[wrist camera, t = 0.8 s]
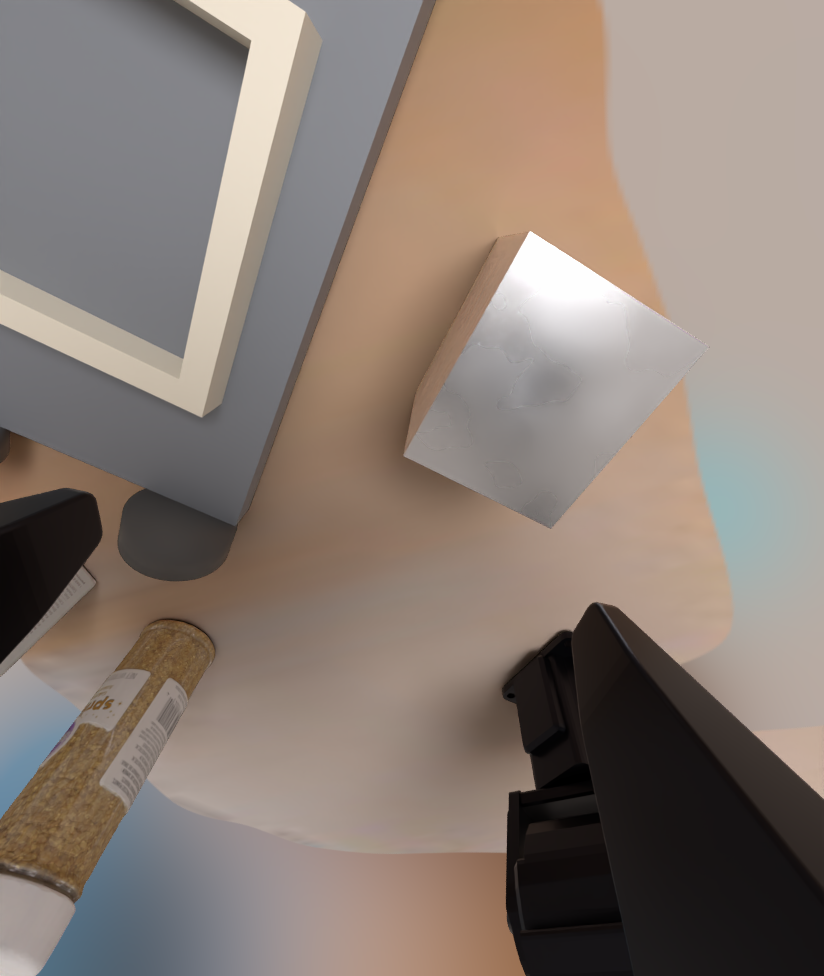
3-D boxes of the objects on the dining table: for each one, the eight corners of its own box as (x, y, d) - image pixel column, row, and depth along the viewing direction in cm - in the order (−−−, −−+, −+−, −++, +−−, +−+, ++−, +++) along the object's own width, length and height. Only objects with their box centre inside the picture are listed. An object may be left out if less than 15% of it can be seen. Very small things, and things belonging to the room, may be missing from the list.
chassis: (550, -283, 9) (627, -675, 5) (244, 533, 21) (199, 596, 17) (-222, -989, 6) (-1204, -2813, 3) (-67, 401, 18) (-200, 441, 15)
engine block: (616, 311, 15) (709, 346, 10) (519, 446, 18) (550, 528, 12) (497, 237, 14) (530, 231, 9) (415, 391, 17) (403, 456, 12)
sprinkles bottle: (149, 606, 24) (-123, 937, 13) (225, 632, 25) (34, 968, 13) (141, 651, 26) (-98, 968, 15) (211, 674, 27) (36, 993, 15)
